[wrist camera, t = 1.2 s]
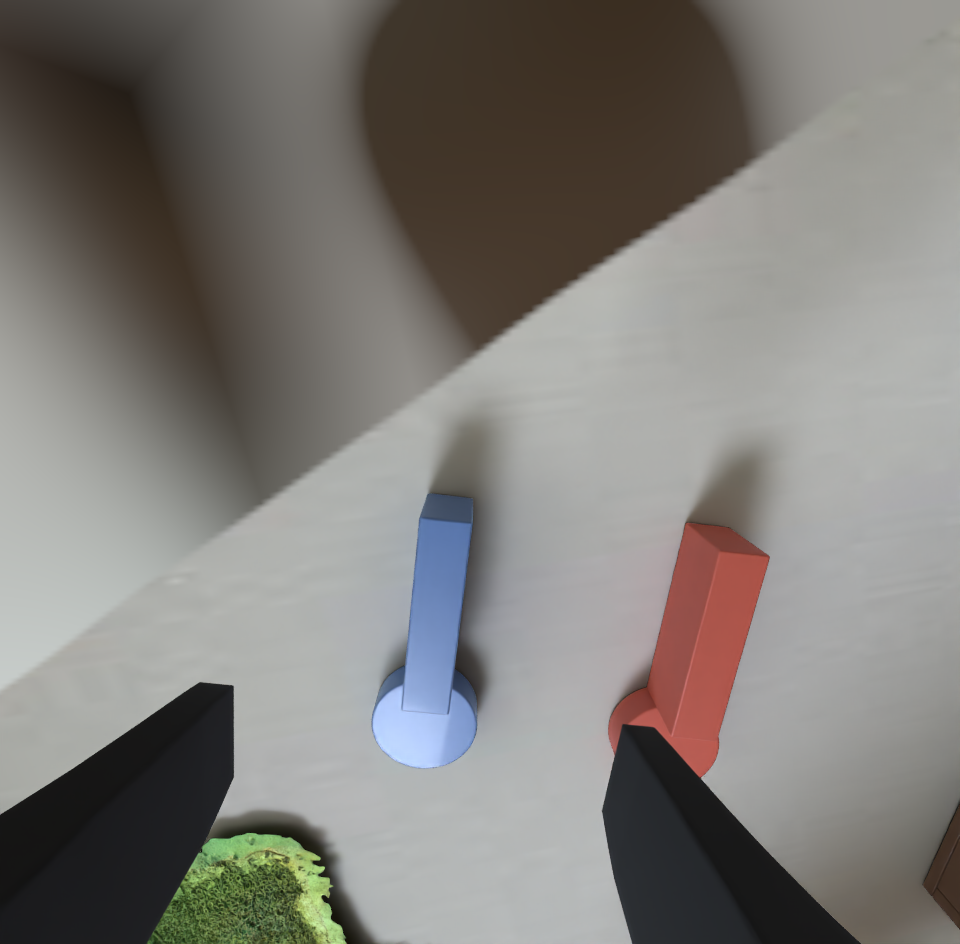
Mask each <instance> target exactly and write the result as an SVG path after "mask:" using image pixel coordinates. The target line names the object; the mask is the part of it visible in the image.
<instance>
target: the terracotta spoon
mask: <svg viewBox="0 0 960 944" xmlns="http://www.w3.org/2000/svg"><path fill="white" fill-rule="evenodd" d="M769 559H770V557H769V556H768V555H767V554H766V553H764V552H763V551H761V550H760V549H759V548H757V547H756V546H754V545H753V544H752V543H750V542H749V541H747V540H746V539H744V538H743V537H742V536H740V535H739V534H737V533H736V532H735V531H733V530H732V529H730V528H729V527H720V526H712V525H703V524H694V523H686V525H685V529H684V533H683V537H682V541H681V546H680V550H679V554H678V558H677V562H676V567H675V571H674V575H673V579H672V583H671V587H670V592H669V596H668V600H667V604H666V608H665V612H664V617H663V621H662V625H661V629H660V633H659V638H658V642H657V646H656V650H655V654H654V658H653V663H652V667H651V671H650V675H649V679H648V683H647V687H646V688H642V689H640V690H637V691H635V692H633V693H632V694H630V695H628V696H627V697H626V698H624V699H623V700H622V701H621V702H620V703H619V704H618V706H617V707H616V708H615V710H614V711H613V713H612V716H611V718H610V722H609V727H608V735H609V740H610V743H611V746H612V749H613V751H614V754H615V753H616V749H617V745H618V740H619V736H620V732H621V728H622V724H628V725H638V726H649V727H655V728H656V729H657V730H658V732H659V733H660V734H661V735H662V736H663V737H664V738H665V739H666V740H667V741H668V742H669V744H670V745H671V746H672V747H673V748H674V749H675V750H676V751H677V753H678V754H679V755H680V756H681V757H682V758H683V759H684V761H685V762H686V763H687V764H688V765H689V766H690V767H691V768H692V770H693V771H694V772H695V773H696V774H697V775H698V776H699V777H700V778H701V777H702V776H703V775H704V774H705V773H706V772H707V771H708V770H709V769H710V768H711V766H712V765H713V763H714V761H715V759H716V757H717V754H718V749H719V738H718V735H719V731H720V728H721V724H722V721H723V717H724V714H725V710H726V707H727V704H728V700H729V697H730V693H731V690H732V686H733V683H734V679H735V676H736V672H737V669H738V666H739V662H740V659H741V655H742V652H743V648H744V645H745V641H746V638H747V635H748V631H749V628H750V624H751V621H752V617H753V614H754V610H755V607H756V603H757V600H758V597H759V593H760V590H761V586H762V583H763V579H764V576H765V572H766V569H767V565H768V562H769Z"/></svg>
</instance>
